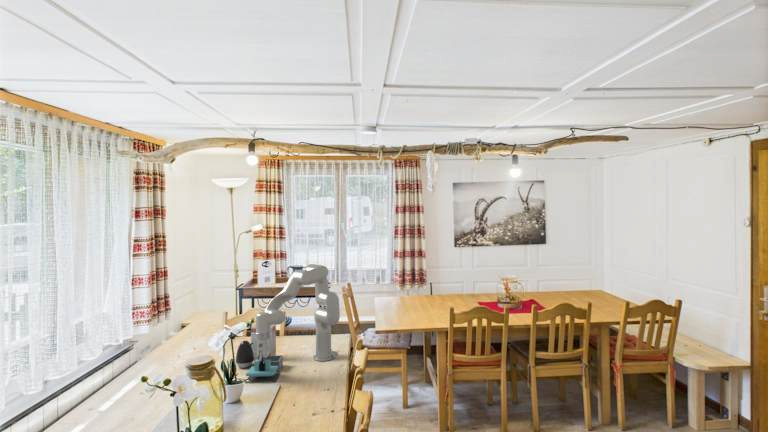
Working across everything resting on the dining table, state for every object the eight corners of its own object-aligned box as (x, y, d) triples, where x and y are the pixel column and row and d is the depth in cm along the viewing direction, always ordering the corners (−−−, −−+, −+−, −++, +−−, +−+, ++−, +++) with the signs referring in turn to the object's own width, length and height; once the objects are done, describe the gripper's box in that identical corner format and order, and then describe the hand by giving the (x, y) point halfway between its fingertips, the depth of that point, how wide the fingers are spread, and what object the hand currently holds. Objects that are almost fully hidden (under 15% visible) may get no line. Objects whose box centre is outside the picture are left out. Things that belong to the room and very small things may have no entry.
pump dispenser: (248, 370, 218) (248, 343, 218) (231, 369, 220) (232, 342, 220) (257, 364, 228) (257, 338, 228) (241, 362, 230) (242, 337, 230)
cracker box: (276, 358, 237) (276, 324, 238) (272, 361, 231) (272, 327, 232) (254, 357, 239) (254, 324, 239) (250, 360, 233) (250, 326, 233)
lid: (251, 370, 211) (251, 357, 212) (278, 369, 212) (278, 356, 213) (246, 378, 201) (246, 364, 201) (274, 377, 202) (274, 363, 202)
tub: (258, 366, 224) (258, 355, 224) (282, 365, 225) (282, 355, 225) (254, 372, 214) (254, 362, 214) (279, 372, 215) (279, 361, 215)
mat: (251, 374, 212) (251, 373, 212) (280, 373, 213) (280, 372, 213) (244, 383, 200) (244, 382, 200) (275, 382, 201) (275, 381, 201)
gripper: (266, 339, 199) (266, 375, 199) (273, 331, 216) (273, 363, 215) (251, 340, 199) (251, 375, 198) (260, 331, 215) (259, 364, 215)
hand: (262, 369), depth 207 cm, fingers closed on lid, 3 cm apart
